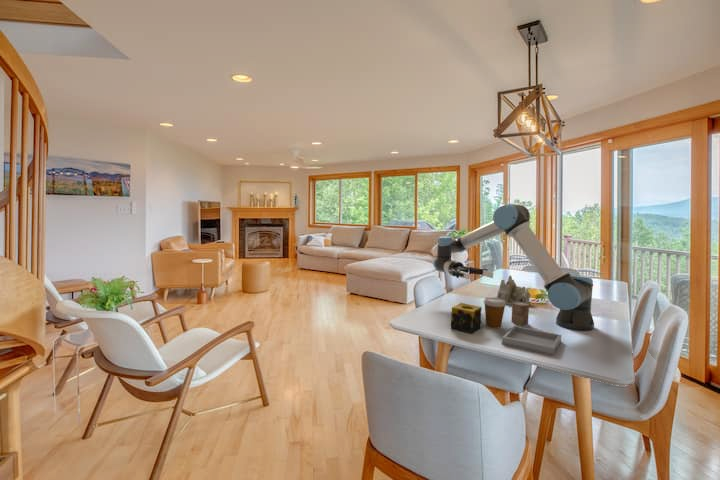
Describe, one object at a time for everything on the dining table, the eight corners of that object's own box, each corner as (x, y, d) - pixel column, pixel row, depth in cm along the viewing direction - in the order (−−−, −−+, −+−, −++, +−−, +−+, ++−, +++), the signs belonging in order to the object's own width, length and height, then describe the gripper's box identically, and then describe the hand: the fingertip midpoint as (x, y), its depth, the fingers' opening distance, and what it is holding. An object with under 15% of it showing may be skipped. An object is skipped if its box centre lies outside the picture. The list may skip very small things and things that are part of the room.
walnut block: (519, 320, 175) (520, 302, 174) (527, 324, 170) (529, 304, 169) (511, 321, 173) (512, 303, 172) (519, 325, 168) (520, 305, 168)
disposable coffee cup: (506, 330, 161) (508, 303, 160) (483, 328, 163) (485, 301, 162) (502, 323, 170) (504, 297, 169) (481, 321, 172) (482, 296, 171)
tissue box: (459, 324, 168) (460, 302, 167) (481, 329, 162) (482, 306, 161) (449, 329, 160) (450, 306, 159) (472, 334, 154) (473, 311, 153)
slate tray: (560, 341, 148) (561, 335, 148) (553, 355, 133) (553, 348, 133) (513, 332, 158) (514, 325, 158) (501, 343, 144) (502, 336, 144)
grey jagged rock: (490, 300, 213) (494, 274, 211) (511, 298, 220) (514, 274, 218) (511, 308, 199) (515, 281, 197) (533, 307, 206) (537, 281, 204)
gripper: (473, 274, 198) (501, 282, 179) (433, 276, 190) (458, 285, 170) (474, 260, 198) (502, 267, 178) (434, 261, 189) (458, 268, 169)
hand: (480, 275), depth 174 cm, fingers open, 13 cm apart
